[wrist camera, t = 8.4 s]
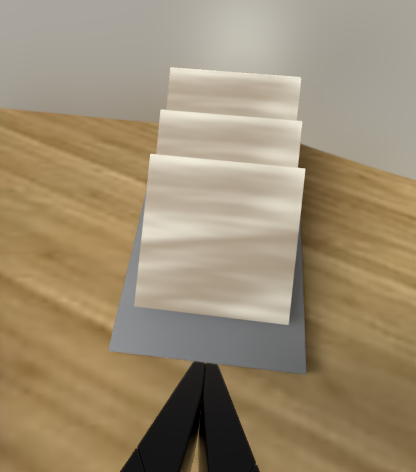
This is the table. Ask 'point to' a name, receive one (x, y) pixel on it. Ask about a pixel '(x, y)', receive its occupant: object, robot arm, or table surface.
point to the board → (210, 329)
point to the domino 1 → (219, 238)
